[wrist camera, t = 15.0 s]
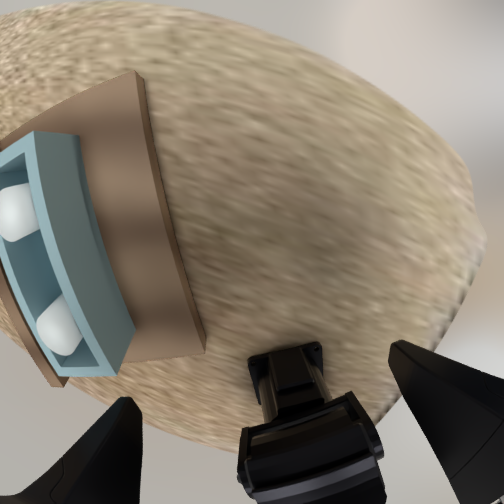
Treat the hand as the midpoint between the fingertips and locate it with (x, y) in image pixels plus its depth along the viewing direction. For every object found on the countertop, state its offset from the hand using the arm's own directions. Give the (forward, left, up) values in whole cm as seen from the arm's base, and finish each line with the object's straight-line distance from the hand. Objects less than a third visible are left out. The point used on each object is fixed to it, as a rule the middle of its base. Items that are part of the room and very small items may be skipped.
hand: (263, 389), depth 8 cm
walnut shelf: (+4, +11, -12) cm, 17 cm away
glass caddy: (+4, +11, -10) cm, 15 cm away
